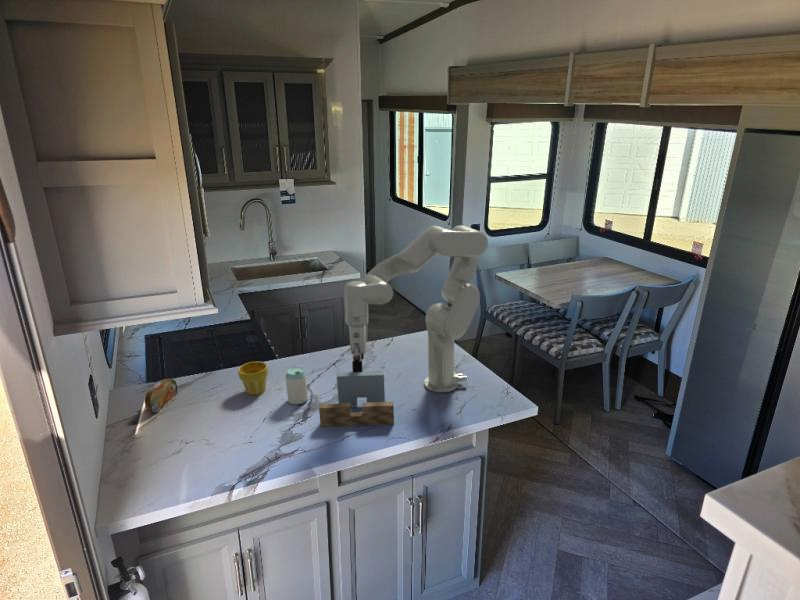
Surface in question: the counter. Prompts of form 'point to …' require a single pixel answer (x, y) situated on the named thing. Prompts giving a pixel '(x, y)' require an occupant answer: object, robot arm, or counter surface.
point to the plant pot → (253, 377)
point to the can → (296, 385)
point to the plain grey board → (360, 386)
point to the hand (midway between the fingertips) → (358, 365)
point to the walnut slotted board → (356, 414)
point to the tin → (160, 395)
